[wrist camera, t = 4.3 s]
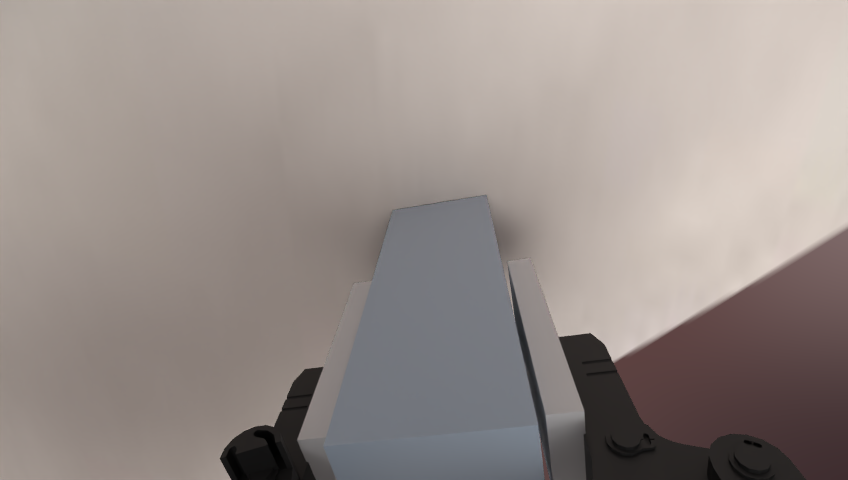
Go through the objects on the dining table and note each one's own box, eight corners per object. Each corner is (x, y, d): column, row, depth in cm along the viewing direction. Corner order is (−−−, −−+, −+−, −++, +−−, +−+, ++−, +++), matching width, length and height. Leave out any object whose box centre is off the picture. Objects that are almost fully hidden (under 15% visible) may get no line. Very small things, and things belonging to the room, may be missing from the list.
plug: (411, 289, 21) (373, 571, 10) (392, 210, 19) (323, 446, 9) (498, 277, 21) (554, 560, 10) (486, 195, 19) (538, 425, 8)
